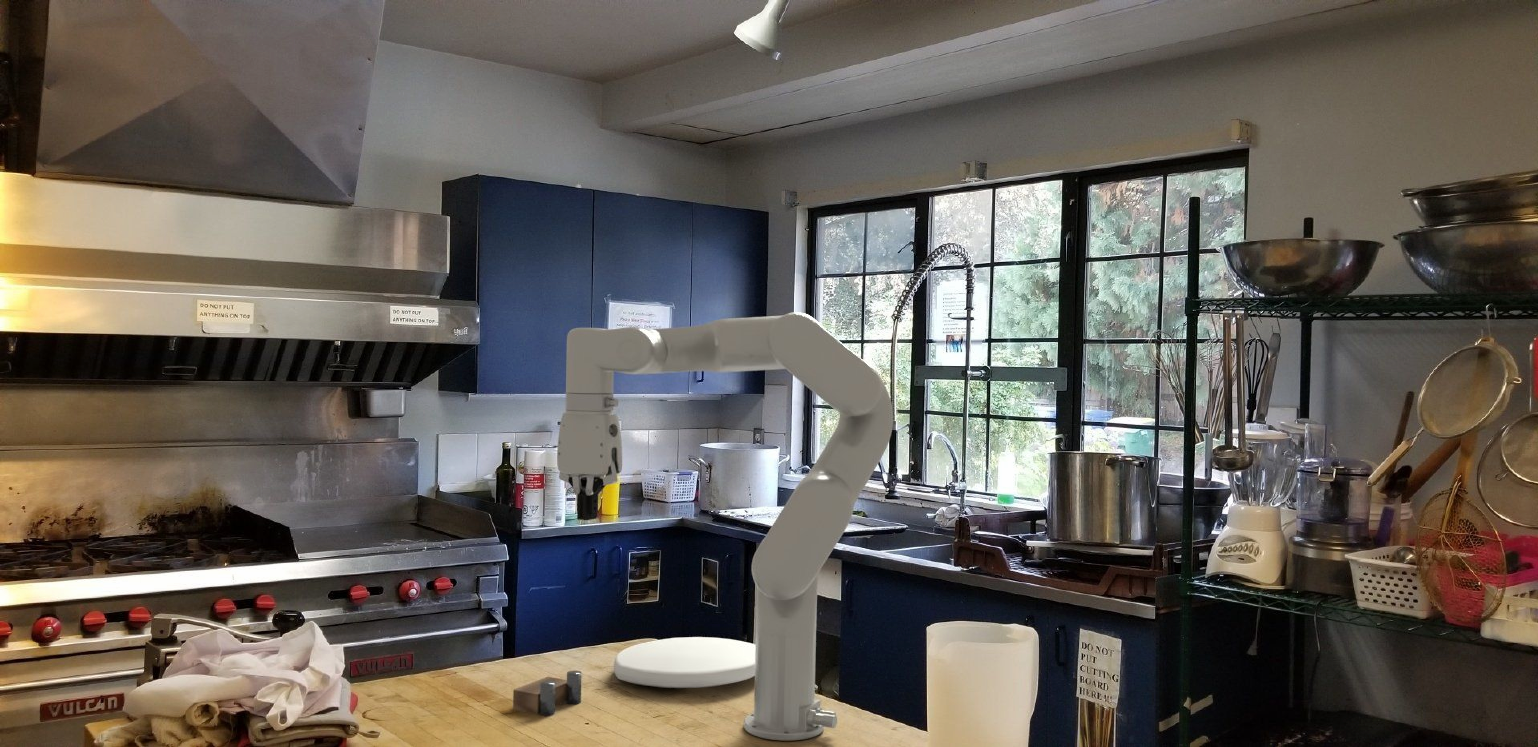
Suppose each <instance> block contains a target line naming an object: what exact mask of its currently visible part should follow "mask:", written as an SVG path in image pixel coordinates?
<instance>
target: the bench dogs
mask: <svg viewBox="0 0 1538 747" xmlns="http://www.w3.org/2000/svg"><path fill="white" fill-rule="evenodd" d="M566 680H567V699H566V702H565V703H566V704H568V705H578V704H581V703H582V671H580V670H570V671H567V672H566ZM555 713H556V707H555V682H554V681H543V682H541V683H540V713H539V715H540V716H544V717H548V716H549V717H551V716H554V715H555Z"/></svg>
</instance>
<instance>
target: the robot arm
mask: <svg viewBox="0 0 1538 747" xmlns="http://www.w3.org/2000/svg"><path fill="white" fill-rule="evenodd" d="M566 336H567V337H566V363H565V364H566V367H565V368H566V370H565V371H566V373H565V374H566V376H565V412H563V413H562V415H561V419H560V424H559V431H558V437H557V438H558V439H557V448H556V449H557V451H556V464H557V470H558V471H559V475H558V478H559V480H560V481H563V482H565V483H568V484H569V485H570V487H571V488H572V489H573V493H574V495H576V512H577V513H576V514H577V515H576V518H577V521H578V520H579V521H581V520H582V521H591V520H594V519H597V518H598V512H599V495H600V494H602V492H603V490H604V489H605V487H606V486H609V485H615V484H617V483H618V474H620V473H621V472H622V470H623V446H622V444H623V443H622V433H621V427H620V421H619V417H618V416H619V415H618V414H617V413H614V408H617V407H618V406H619V399H617V398H615V397H614V394H613V393H614V374H615V373H622V374H626V375H651V374H652V375H653V374H667V373H668V374H669V373H670V374H671V373H685V372H686V373H687V372H711V373H735V372H753V371H755V372H757V371H771V370H774V371H775V370H787V371H788V372H789V373H790V374H791V375H792V376H793V377H794V378H796V379H797V380H798V381H800V383H802V384H803V385H804V386H805V387H807V388H808V389H809V390H810V391H811V392H812V393H814V394H815V395H816V396H818V398H820V399H821V400H822V401H824V402H825V404H827V405H828V406H830V407H831V408H832V409H833V410H835V411H836V412H838V413H839V417H838V418H839V419H838V423H837V426H836V428H835V430H834V431H833V433H832V435H831V437H829V440H828V442H826V443H827V444H825V447H824V448H823V450H822V452H821V454H820V455H819V456H818V457H817V458H818V459H816V461H815V463H814V464H813V466H812V467H811V468H810V470H809V472H808V473H807V474H806V475H805V477H804V478H803V479H801V481H800V482H799V483H798V484H797V485H796V487H795V488H794V490H793V492H792V494H791V495H790V496H789V498H788V500H787V502H786V503H785V504H784V507H783V508H782V509H781V511H780V513H779V515H778V516H777V518H776V519H775V521H774V523H773V524H772V525H771V527H770V529H769V530H768V532H767V533H766V535H765V537H764V538H763V539H762V540H761V542H760V544H759V545H758V547H757V549H756V551H755V552H754V555H753V557H752V562H751V575H752V578H753V582H754V584H755V586H756V588H757V589H756V606H755V607H756V610H755V611H756V613H755V614H756V615H755V643H754V644H755V676H754V696H753V698H754V700H753V701H754V702H753V703H754V705H753V712H752V713H750V714H748V715H747V716H746V717H745V718H744V720H743V728H744V729H745V731H746V732H748V733H749V734H751V735H752V736H754V737H758V738H760V739H765V740H771V741H772V740H773V741H800V740H801V741H803V740H806V739H807V740H808V739H811V738H814V737H817V736H818V735H820V734H821V733H823V732H824V728H828V729H835V728H836V727H837V724H838V717H837V714H836V713H837V712H836V711H831V710H824V709H823V708H822V707H821V699H818V698H815V697H816V692H815V691H816V690H815V688H816V652H817V651H816V647H817V642H816V641H817V613H818V612H817V611H818V609H817V607H818V606H817V604H818V585H819V582H818V581H819V572H820V570H821V569H822V568H823V566H824V564H825V563H826V561H827V560H828V557H830V555H831V553H832V552H833V550H835V549H834V548H835V547H836V545H837V544H838V542H839V541H840V539H841V538H842V536H843V535H844V532H845V531H846V529H847V527H848V526H849V523H850V522H851V520H852V517H853V513H854V508H855V504H856V502H857V500H858V499H859V497H860V495H861V494H862V491H863V490H864V488H865V487H866V485H867V484H868V482H869V480H870V478H871V477H872V475H873V473H874V471H875V470H876V468H877V466H878V465H879V463H880V461H881V459H882V458H883V455H884V453H885V451H886V450H887V447H888V445H889V442H890V439H891V437H892V431H893V425H894V412H893V405H892V400H891V397H890V394H889V392H888V389H887V387H886V386H885V384H884V381H883V379H882V378H881V376H880V374H879V373H878V371H877V370H876V369H875V368H874V367H873V366H872V365H870V364H869V363H868V362H866V361H865V360H864V359H863V358H861V357H859V356H858V355H857V354H856V353H855V352H853V351H852V350H851V349H850V348H848V346H846V345H845V344H844V343H843V342H841V341H840V340H839V339H838V338H836V337H835V336H834V335H833V334H831V333H830V332H829V331H828V329H826V328H825V327H824V326H823V325H821V324H820V322H818V321H817V320H816V319H815V318H814V317H812V316H811V315H809V314H807V313H804V312H799V311H798V312H788V313H786V314H783V315H769V316H752V317H736V318H735V317H733V318H732V317H731V318H720V319H716V320H712V321H710V322H707V323H704V324H699V325H692V326H682V327H680V326H679V327H663V328H646V327H639V326H629V327H628V326H626V327H620V328H612V329H609V328H604V327H602V328H600V327H576V328H575V327H574V328H572V329H571V330H569V332H568V333H567V335H566ZM614 372H615V373H614Z"/></svg>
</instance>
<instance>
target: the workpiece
mask: <svg viewBox="0 0 1538 747" xmlns="http://www.w3.org/2000/svg"><path fill="white" fill-rule="evenodd" d="M543 681H554V682H555V708H556V707H558V706H560V705H563V704H565V703H566V699H567V679H564V678H563V679H562V678H557V677H551V676H546V677H543V678H541V679H538V680H535V681H533V682H530V683H528V684H525V685H522V686H519V687H517V688H514V689H513V692H512V693H513V696H512V698H513V699H512V701H513V702H512V710H514V711H519V712H524V713H529V714H533V715H534V714H535V715H540V683H541V682H543Z"/></svg>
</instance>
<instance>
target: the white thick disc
mask: <svg viewBox="0 0 1538 747" xmlns="http://www.w3.org/2000/svg"><path fill="white" fill-rule="evenodd" d="M613 671H614V675H615V677H616V678H617V679H618V680H620V681H623V682H627V683H630V684H635V685H641V686H647V687H648V686H649V687H657V688H669V689H671V688H672V689H673V688H674V689H685V688H686V689H697V688H709V687H716V686H723V685H728V684H733V683H739V682H741V681H742V682H744V681H747V680H749V679H751V678H753V677H755V643H751V642H746V641H742V640H737V639H731V638H724V637H723V638H721V637H708V636H707V637H705V636H704V637H703V636H692V637H691V636H689V637H671V638H663V639H658V640H657V639H656V640H653V641H648V642H647V641H645V642H641V643H638V644H635V645H631V646H628V647H627V648H625V649H622V650H621V651H620V652H618V653H617V654H616V656H615V658H614V662H613Z"/></svg>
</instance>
